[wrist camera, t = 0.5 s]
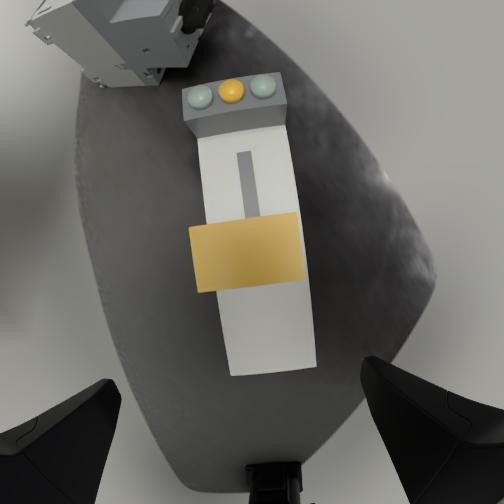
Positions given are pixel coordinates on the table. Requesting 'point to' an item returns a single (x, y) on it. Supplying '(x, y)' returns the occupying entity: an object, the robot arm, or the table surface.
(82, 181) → the table surface
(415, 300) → the table surface
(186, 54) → the circuit breaker
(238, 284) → the handle
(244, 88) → the long white slab
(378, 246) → the table surface
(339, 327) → the table surface
